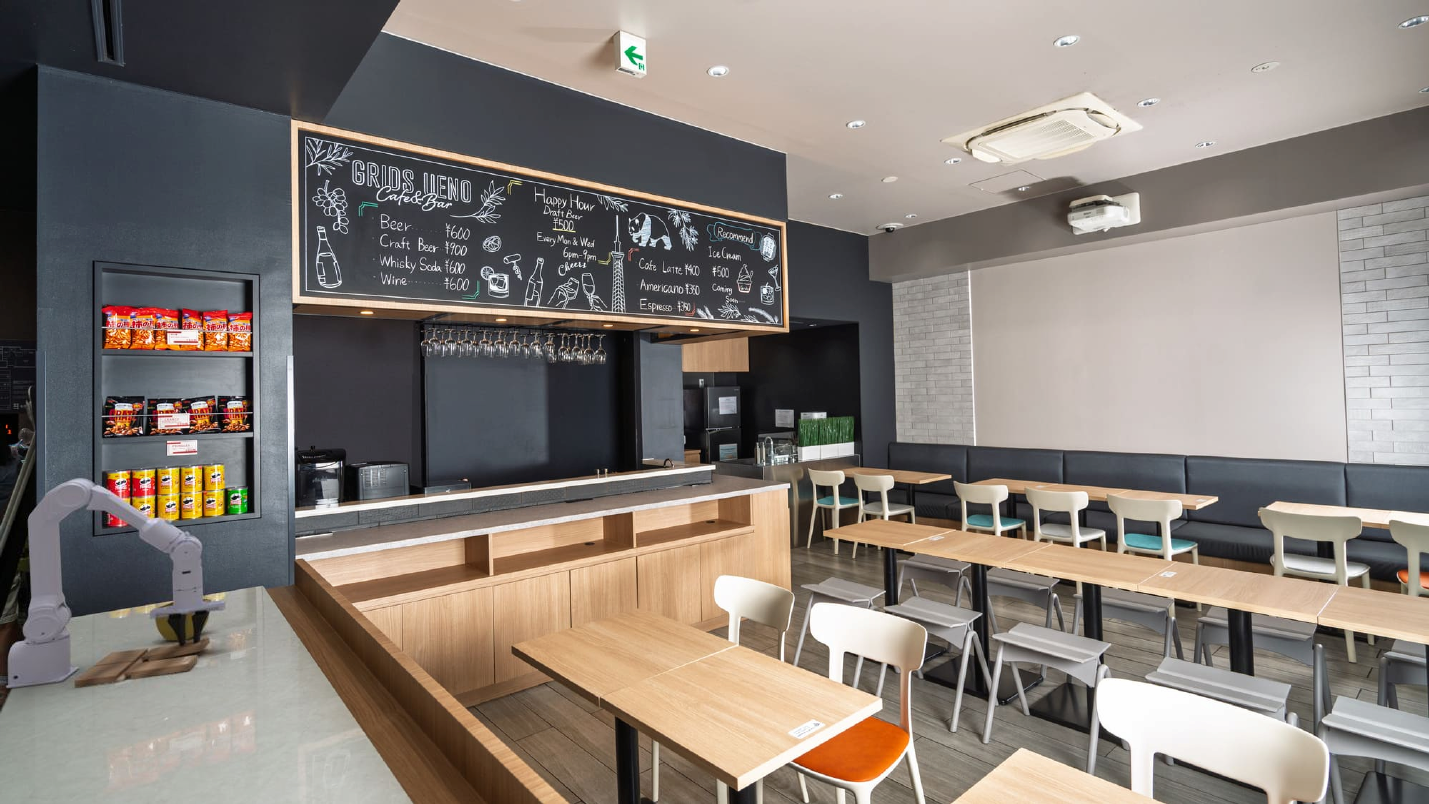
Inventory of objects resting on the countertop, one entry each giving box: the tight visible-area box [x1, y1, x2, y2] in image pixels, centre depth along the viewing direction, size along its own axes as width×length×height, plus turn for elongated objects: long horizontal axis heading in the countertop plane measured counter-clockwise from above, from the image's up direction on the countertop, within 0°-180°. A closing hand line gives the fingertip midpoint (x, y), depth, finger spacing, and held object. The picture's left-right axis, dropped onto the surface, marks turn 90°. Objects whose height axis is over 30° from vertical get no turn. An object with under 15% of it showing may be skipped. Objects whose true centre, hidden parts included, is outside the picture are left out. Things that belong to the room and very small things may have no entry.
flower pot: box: [153, 598, 212, 641], centre depth 177 cm, size 9×9×9 cm
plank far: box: [141, 636, 211, 662], centre depth 164 cm, size 12×6×2 cm, turn 112°
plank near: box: [124, 654, 198, 680], centre depth 155 cm, size 12×6×2 cm, turn 112°
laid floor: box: [74, 647, 149, 689], centre depth 156 cm, size 8×18×2 cm, turn 23°
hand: (189, 643), depth 165 cm, fingers open, 2 cm apart
